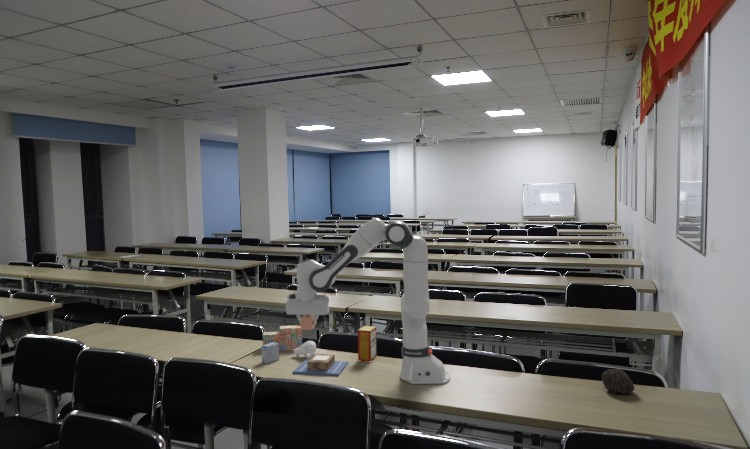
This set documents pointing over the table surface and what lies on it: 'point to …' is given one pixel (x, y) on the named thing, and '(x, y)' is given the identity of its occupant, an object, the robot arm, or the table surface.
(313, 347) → the white animal figurine
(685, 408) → the table surface
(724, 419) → the table surface
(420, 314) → the robot arm
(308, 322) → the snap block
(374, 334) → the baking soda box
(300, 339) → the stack of blocks
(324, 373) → the board
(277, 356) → the medicine box
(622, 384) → the rock
